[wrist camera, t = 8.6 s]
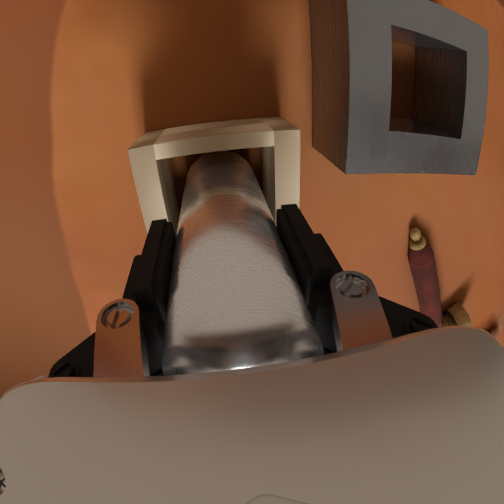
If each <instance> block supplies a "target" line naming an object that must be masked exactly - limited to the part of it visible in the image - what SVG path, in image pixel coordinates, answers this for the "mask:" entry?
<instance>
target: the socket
mask: <svg viewBox="0 0 504 504" xmlns="http://www.w3.org/2000/svg"><path fill="white" fill-rule="evenodd" d="M309 9H310V26H311V48H312V87H313V135H312V147H313V148H314V149H316V150H317V151H318V152H319V153H321V154H322V155H323V156H324V157H326V158H327V159H328V160H329V161H330V162H332V163H333V164H334V165H335V166H336V167H338V168H339V169H340V170H341V171H342V172H344V173H345V174H368V173H433V174H461V175H476V171H477V166H478V161H479V156H480V150H481V145H482V138H483V132H484V124H485V116H486V106H487V93H488V67H489V56H488V31H487V29H485V28H483V27H482V26H480V25H478V24H476V23H475V22H473V21H471V20H469V19H467V18H465V17H464V16H462V15H460V14H458V13H456V12H454V11H452V10H450V9H447V8H445V7H443V6H441V5H439V4H436V3H434V2H432V1H429V0H309ZM392 41H395V42H399V43H403V44H407V45H410V46H414V47H416V81H415V101H414V115H413V119H409V118H401V117H391V116H390V109H391V87H392Z"/></svg>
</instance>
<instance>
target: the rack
mask: <svg viewBox="0 0 504 504" xmlns="http://www.w3.org/2000/svg"><path fill="white" fill-rule="evenodd" d="M255 147H261V160H262V184H263V196H264V198H265V200H266V203H267V205H268V208H269V210H270V212H271V215H272V217H273V220H274V222H275V225H276V210H277V209H281V205H286V204H297V206H298V208H299V194H300V129H298V128H297V127H295V126H294V125H292V124H291V123H289V122H288V121H286V120H285V119H283V118H282V117H267V118H251V119H238V120H227V121H217V122H209V123H201V124H193V125H186V126H179V127H173V128H167V129H161V130H156V131H150V132H145V133H144V134H143V135H142V136H141V137H140V138H139V139H138V140H137V141H136V142H135V143H134V144H133V145H132V146H131V147H130V148H129V149H128V153H129V158H130V163H131V168H132V173H133V177H134V182H135V186H136V190H137V195H138V199H139V203H140V207H141V211H142V215H143V219H144V222H145V226H146V230H147V234H148V231H149V228H150V225H151V222H152V221H153V220H160V219H167V221H168V222H172V223H173V227H174V231H175V236H177V229H178V223H179V217H180V213H179V207H178V202H177V197H176V191H175V186H174V180H173V174H172V168H171V162H170V158H171V157H178V156H184V155H191V154H199V153H207V152H215V151H224V150H233V149H244V148H255Z"/></svg>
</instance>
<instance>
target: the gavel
mask: <svg viewBox="0 0 504 504" xmlns="http://www.w3.org/2000/svg"><path fill="white" fill-rule="evenodd" d="M410 237H411V239H410V241H409V245H410V247H409V253H408V260H409V264H410V268H411V272H412V276H413V280H414V284H415V288H416V292H417V296H418V301H419V305H420V310H421V313H422V314H425V315H426V316H428V317H430V318H431V319H432V320H433V321H434V322H435V323H436V325H437V326H438V327H439V325H440V324H446V325H451V326H471V327H472V325H471V320H470V318H469V315H468V313H467V312H466V310H465V309H464V307H463V306H462V305H461V304H459V303H457V302H456V303H455V304H453V305H452V306H451V307H449V308H448V309H446V314H445V315H443V316H442V310H441V300H440V292H439V285H438V278H437V271H436V265H435V260H434V254H433V250H432V249H431V247H430V246H429V245H428V243H427V242H426V240H425V238H424V237H423V236H422V235H421V232H420V230H419V229H418V228H412V229H411V231H410Z"/></svg>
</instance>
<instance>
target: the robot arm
mask: <svg viewBox="0 0 504 504" xmlns="http://www.w3.org/2000/svg"><path fill="white" fill-rule="evenodd" d="M276 227H277V229H278V232H279V234H280V237H281V239H282V242H283V244H284V247H285V249H286V252H287V254H288V257H289V259H290V262H291V264H292V267H293V269H294V272H295V274H296V277H297V280H298V282H299V285H300V287H301V290H302V292H303V295H304V298H305V300H306V303H307V305H308V308H309V311H310V313H311V316H312V319H313V321H314V324H315V327H316V329H317V332H318V335H319V337H320V340H321V343H322V346H323V351H324V354H323V355H321V356H316V357H311V358H305V359H300V360H294V361H289V362H283V363H277V364H271V365H264V366H257V367H250V368H242V369H234V370H226V371H217V372H206V373H195V374H182V375H167V376H164V374H163V370H162V363H163V348H164V336H165V325H166V314H167V305H168V296H169V287H170V279H171V271H172V263H173V256H174V249H175V242H176V236H175V231H174V227H173V223H172V222H168V221H167V219H160V220H153V221H152V222H151V225H150V228H149V231H148V235H147V238H146V241H145V245H144V248H143V251H142V255H137V256H135V258H134V260H133V263H132V267H131V270H130V273H129V277H128V280H127V284H126V287H125V291H124V294H123V298H122V299H117V300H114V301H111V302H109V303H108V304H106V305H105V306H104V307H103V308H102V309H101V310H100V312H99V313H98V316H97V320H96V332H95V333H93V334H92V335H91V336H89V337H88V338H87V339H86V340H84V341H83V342H82V343H80V344H79V345H78V346H77V347H75V348H74V349H72V350H71V351H70V352H69V353H67V354H66V355H65V356H63V357H62V358H61V359H60V360H58V361H57V362H56V363H55V364H54V365H53V367H52V368H51V370H50V373H49V376H48V377H47V376H46V375H42V376H41V377H39V378H37V379H35V380H32V381H28V382H25V383H22V384H19V385H17V386H15V387H13V388H11V389H10V390H8V391H7V392H6V393H5V394H4V395H3V396H2V398H1V399H0V504H504V348H503V347H502V345H501V344H500V343H499V342H498V341H497V340H496V339H495V338H494V337H493V336H492V335H491V334H490V333H488V332H487V331H485V330H483V329H480V328H476V327H471V326H451V325H446V324H440V325H439V327H438V326H437V325H436V323H435V322H434V321H433V320H432V319H431V318H430V317H428V316H426V315H425V314H422V313H420V312H417V311H415V310H412V309H410V308H407V307H405V306H402V305H400V304H397V303H395V302H392V301H390V300H387V299H385V298H382V297H380V296H378V294H377V291H376V288H375V286H374V284H373V282H372V280H371V279H370V278H369V277H367V276H366V275H364V274H362V273H360V272H356V271H343V269H342V268H341V266H340V264H339V263H338V261H337V259H336V257H335V256H334V254H333V252H332V251H331V249H330V247H329V246H328V244H327V243H326V241H325V239H324V238H323V236H322V235H321V234H319V233H318V234H314V233H313V231H312V230H311V228H310V226H309V224H308V223H307V221H306V219H305V218H304V216H303V214H302V213H301V211H300V209H299V208H298V206H297V204H286V205H281V209H277V210H276Z"/></svg>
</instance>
